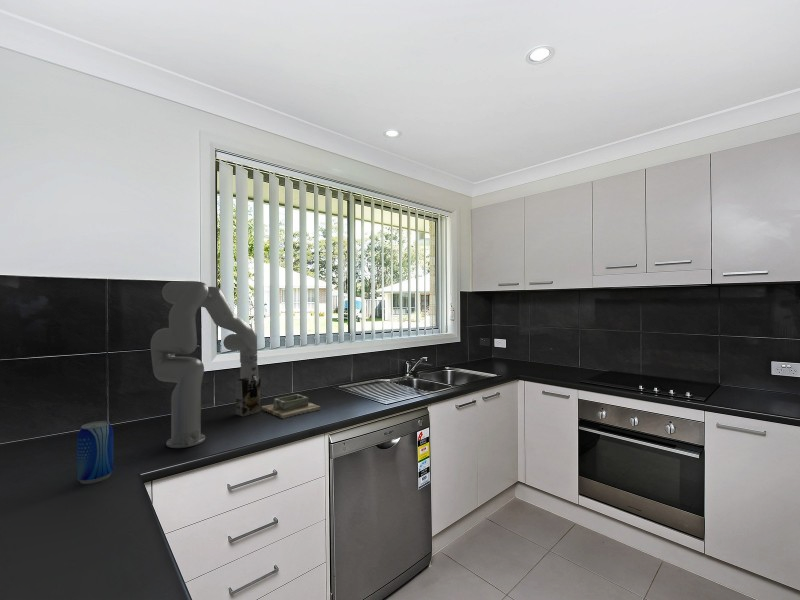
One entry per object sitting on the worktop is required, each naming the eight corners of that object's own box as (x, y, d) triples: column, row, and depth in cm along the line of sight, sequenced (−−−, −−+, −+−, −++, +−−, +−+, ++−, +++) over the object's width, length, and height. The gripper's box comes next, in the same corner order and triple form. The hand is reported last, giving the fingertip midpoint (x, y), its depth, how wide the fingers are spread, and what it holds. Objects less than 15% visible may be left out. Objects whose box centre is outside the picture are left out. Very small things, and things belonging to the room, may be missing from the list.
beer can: (71, 481, 110) (71, 426, 110) (104, 469, 117) (104, 418, 117) (85, 487, 106) (85, 431, 106) (118, 475, 113) (119, 422, 113)
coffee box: (242, 416, 171) (243, 381, 171) (235, 414, 175) (235, 379, 175) (261, 412, 178) (261, 378, 178) (253, 409, 182) (253, 376, 182)
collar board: (320, 409, 183) (320, 398, 183) (282, 418, 168) (282, 406, 168) (298, 401, 197) (298, 391, 197) (261, 409, 182) (261, 398, 182)
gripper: (265, 360, 173) (265, 397, 174) (248, 355, 185) (248, 390, 186) (248, 362, 168) (249, 400, 168) (233, 357, 180) (233, 393, 180)
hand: (249, 395), depth 177 cm, fingers open, 9 cm apart
